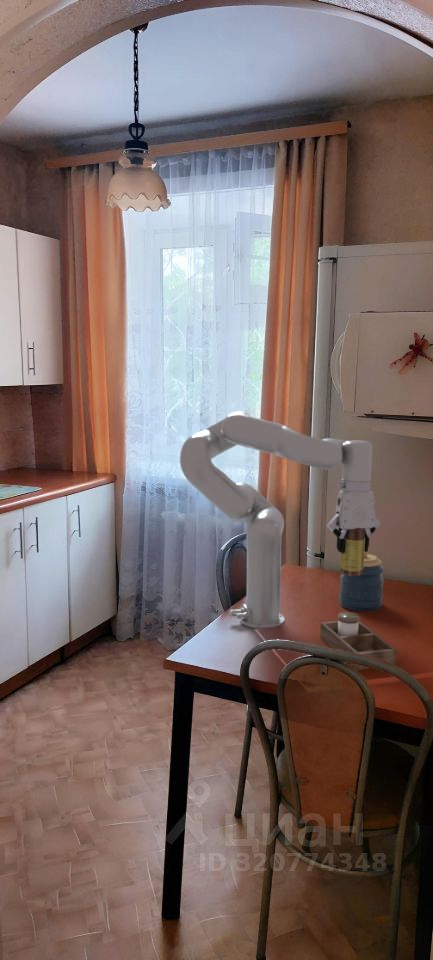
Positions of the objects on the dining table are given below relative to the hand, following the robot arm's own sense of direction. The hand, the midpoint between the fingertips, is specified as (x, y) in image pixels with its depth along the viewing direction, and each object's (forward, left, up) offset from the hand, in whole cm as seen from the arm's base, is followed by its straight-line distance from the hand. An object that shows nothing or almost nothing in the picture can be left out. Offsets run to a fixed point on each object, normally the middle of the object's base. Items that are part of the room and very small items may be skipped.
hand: (352, 550), depth 180 cm
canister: (+12, +17, -23) cm, 31 cm away
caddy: (-6, -15, -22) cm, 28 cm away
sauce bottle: (0, 0, -7) cm, 7 cm away
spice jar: (-6, -11, -22) cm, 25 cm away
